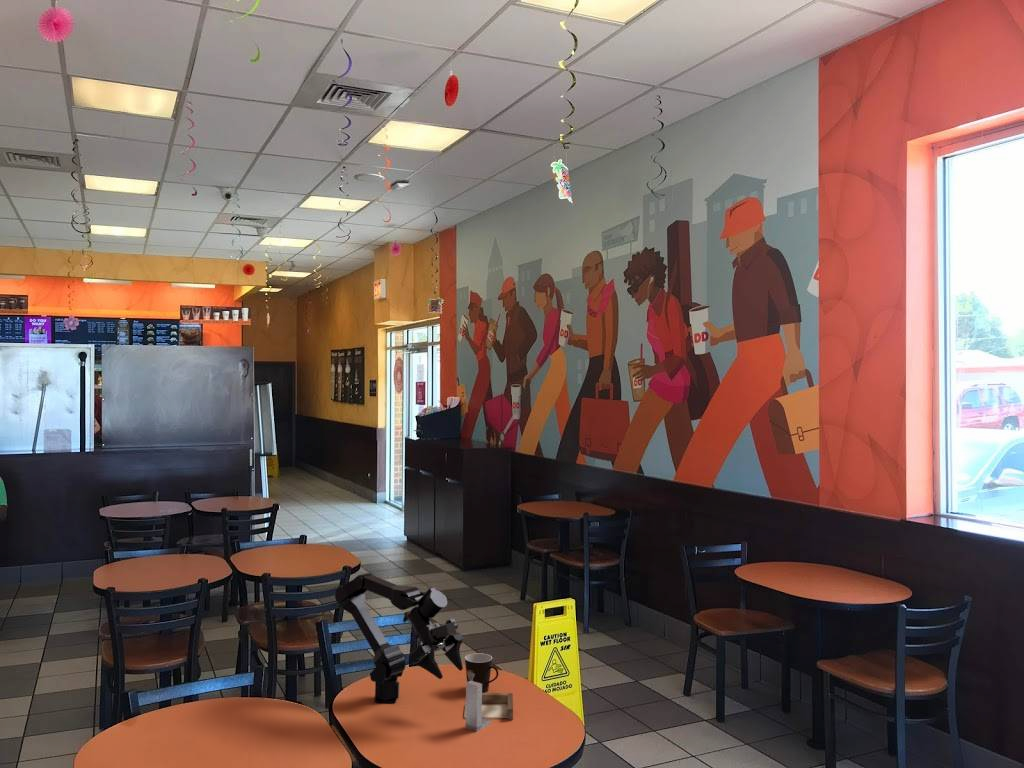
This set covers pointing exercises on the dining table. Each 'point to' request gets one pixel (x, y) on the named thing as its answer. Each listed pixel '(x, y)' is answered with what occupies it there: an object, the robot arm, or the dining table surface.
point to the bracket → (474, 707)
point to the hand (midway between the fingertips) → (451, 674)
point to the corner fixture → (496, 706)
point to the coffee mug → (479, 669)
